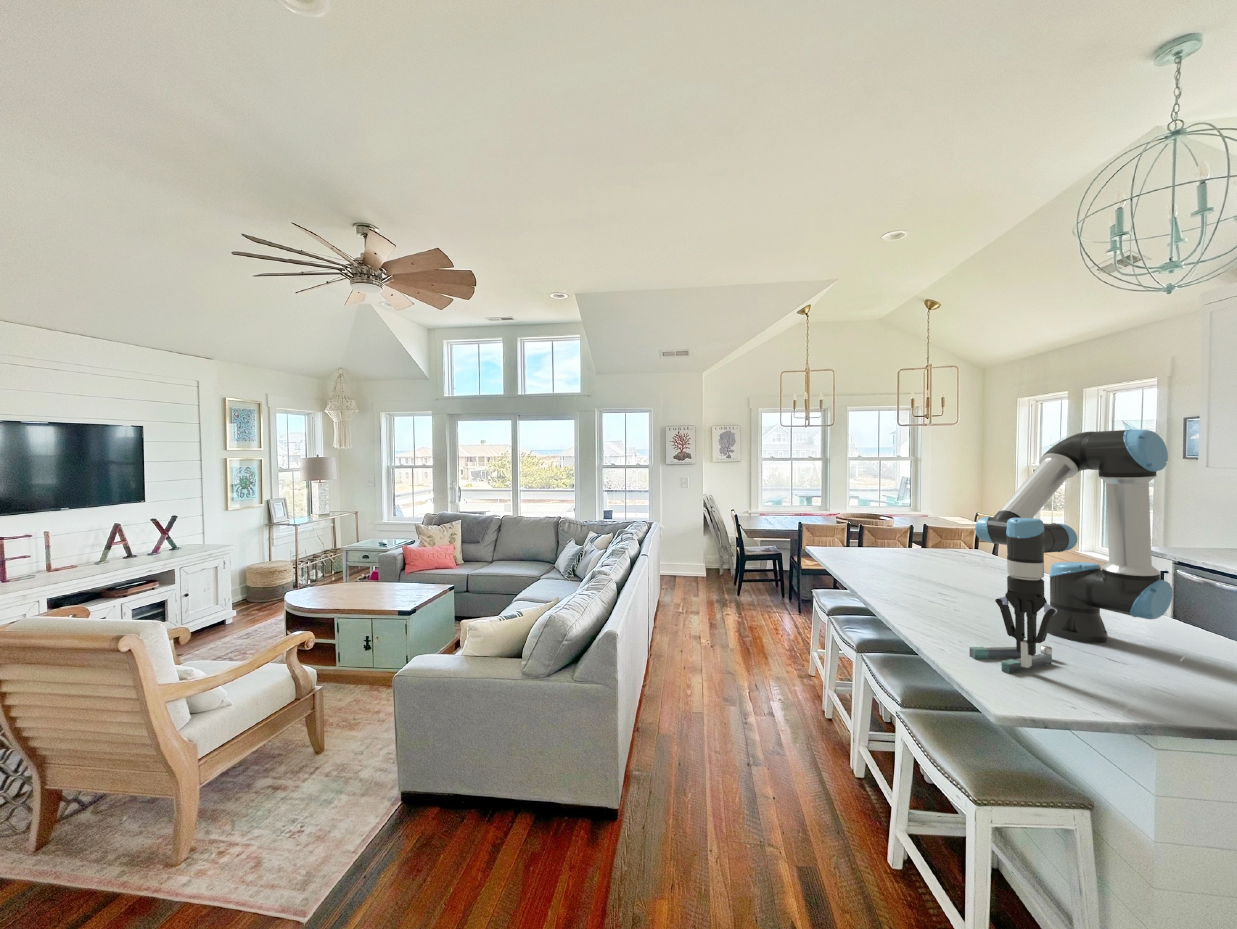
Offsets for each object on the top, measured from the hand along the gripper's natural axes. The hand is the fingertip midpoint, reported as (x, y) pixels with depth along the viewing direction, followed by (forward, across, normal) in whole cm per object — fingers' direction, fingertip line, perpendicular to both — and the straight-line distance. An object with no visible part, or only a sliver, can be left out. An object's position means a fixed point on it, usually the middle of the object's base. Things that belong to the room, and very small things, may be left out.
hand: (1026, 665), depth 128 cm
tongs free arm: (+2, +1, -4) cm, 4 cm away
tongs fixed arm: (+2, +6, -7) cm, 10 cm away
